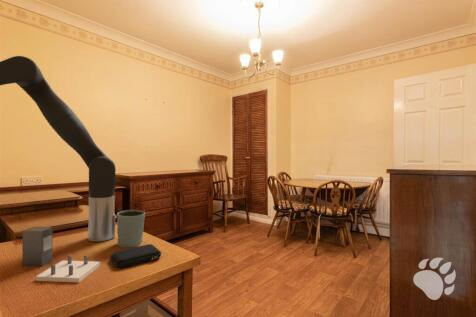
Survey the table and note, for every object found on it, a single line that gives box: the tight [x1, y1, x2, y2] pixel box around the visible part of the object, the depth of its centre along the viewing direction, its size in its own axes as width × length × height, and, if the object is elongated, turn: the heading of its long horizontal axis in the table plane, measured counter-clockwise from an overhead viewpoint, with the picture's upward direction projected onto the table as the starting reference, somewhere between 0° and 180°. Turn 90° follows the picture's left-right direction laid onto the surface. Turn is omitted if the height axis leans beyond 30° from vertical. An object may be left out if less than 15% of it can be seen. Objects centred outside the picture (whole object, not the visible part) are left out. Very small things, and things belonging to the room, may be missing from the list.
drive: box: [21, 226, 53, 268], centre depth 78 cm, size 4×6×11 cm
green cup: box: [116, 209, 146, 248], centre depth 96 cm, size 10×10×12 cm
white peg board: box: [35, 254, 101, 283], centre depth 73 cm, size 10×12×4 cm
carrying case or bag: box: [110, 243, 162, 269], centre depth 83 cm, size 11×3×15 cm
